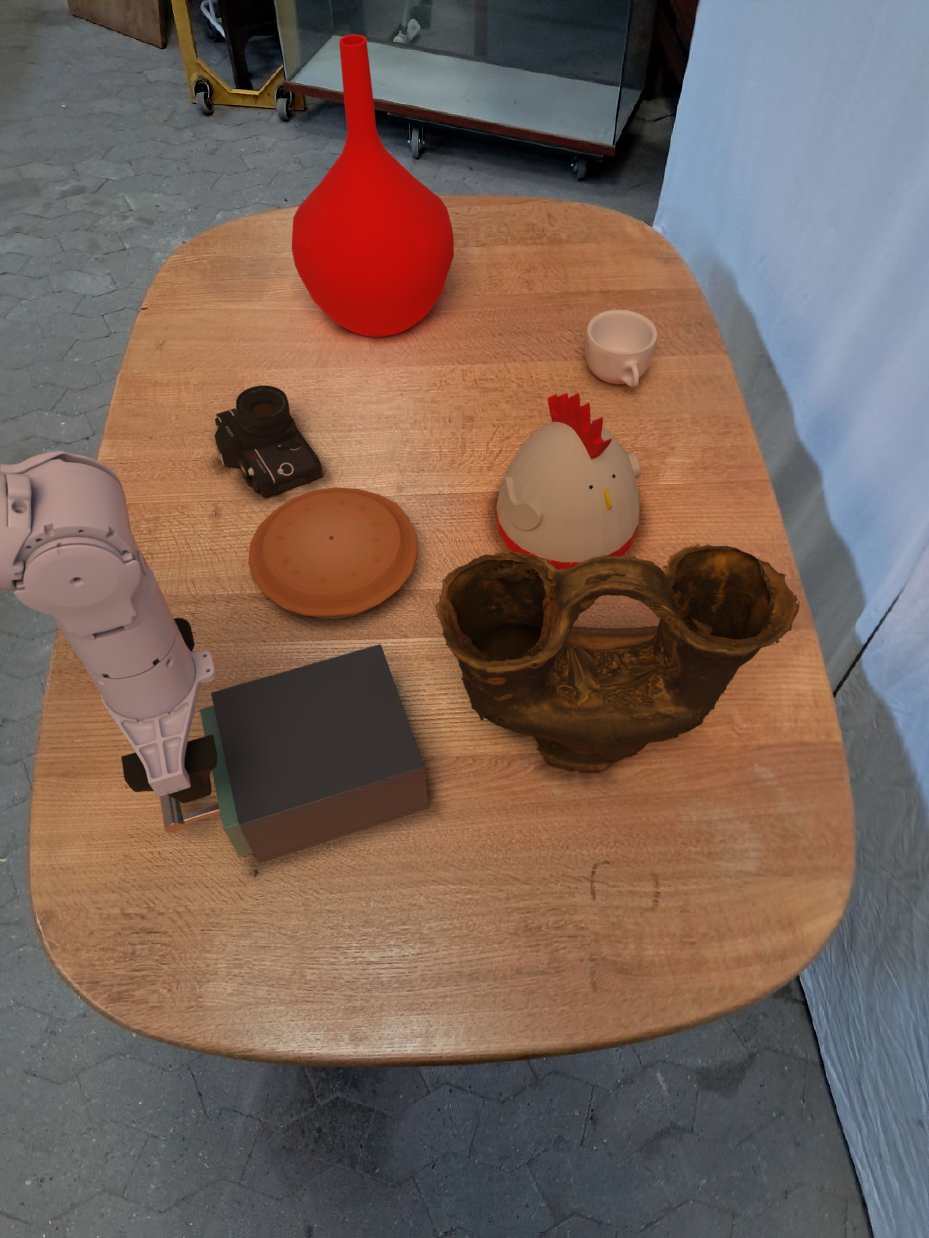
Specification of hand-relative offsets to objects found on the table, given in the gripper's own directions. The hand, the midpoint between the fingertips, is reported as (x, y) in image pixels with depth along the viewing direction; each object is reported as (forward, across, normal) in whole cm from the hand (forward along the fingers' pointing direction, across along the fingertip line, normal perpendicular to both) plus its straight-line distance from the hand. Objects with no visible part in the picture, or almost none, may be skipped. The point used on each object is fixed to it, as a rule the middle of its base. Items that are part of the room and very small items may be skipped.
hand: (187, 749), depth 64 cm
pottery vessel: (+10, -3, -31) cm, 33 cm away
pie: (+10, +20, -15) cm, 27 cm away
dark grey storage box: (+9, 0, -9) cm, 13 cm away
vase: (+10, +58, -30) cm, 66 cm away
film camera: (+10, +38, -12) cm, 41 cm away
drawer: (+8, 0, -5) cm, 10 cm away
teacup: (+10, +37, -52) cm, 64 cm away
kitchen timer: (+10, +19, -38) cm, 43 cm away
